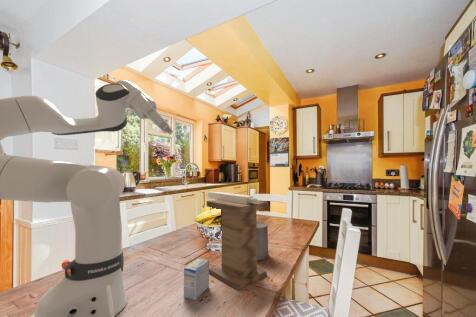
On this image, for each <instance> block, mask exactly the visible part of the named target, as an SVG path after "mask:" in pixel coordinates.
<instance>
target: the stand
mask: <svg viewBox="0 0 476 317" xmlns="http://www.w3.org/2000/svg"><path fill="white" fill-rule="evenodd" d="M206 207H208V208H211V207H212V208H216V209H221V231H222V235H221V263H220V264H218V265H215V266H214V265H213V266H212V267H209V275H211V276H213V277H214V278H216V279H219V280H220V281H221V282H224V283H225V284H227V285H229V286H230V287H232V288H234V289H235V290H237V291H240V290H241V289H243V288H245V287H247V286H249V285H251V284H253V283H255V282H257V281H260V279H262V278H264V277H267V276H268V272H267V271H268V270H266V269H263V268H261V267H258V260H257V222H258V221H257V211H259V210H263V209H269V201H264V200H257V202H255V203H250V204H242V203H236V202H229V201H223V200H217V199H213V200H212V199H211V200H207V201H206Z"/></svg>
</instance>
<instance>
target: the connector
mask: <svg viewBox="0 0 476 317" xmlns="http://www.w3.org/2000/svg"><path fill="white" fill-rule="evenodd" d="M206 193H207V195H206V196H207V199H211V200H212V199H213V200H223V201H229V202H236V203H242V204H250V203H255V202H257V201H258V198H255V197H254V196H253V195H247V194H239V193H238V194H237V193H231V192H222V191H213V190H212V191H207V192H206Z"/></svg>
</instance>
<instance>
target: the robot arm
mask: <svg viewBox="0 0 476 317" xmlns="http://www.w3.org/2000/svg"><path fill="white" fill-rule="evenodd" d="M94 94H95V100H96V101H95V102H96V106H97V113H98V114H97V116H95V117H88V118H70V117H68V116H65V115H64V114H63V113H61V111H60V110H59V109H58V107H56V106H55V105H54V104H53V103H52V102H50V101H49V100H47V99H46V98H44V97H41V96H38V95H21V96H15V97H4V98H0V141H2V140H4V139H5V138H8V137H15V136H23V135H28V134H32V133H40V132H41V133H44V132H45V133H51V134H52V135H54V136H55V135H56V136H73V135H83V134H91V133H99V132H113V133H114V132H118V131H122V130H123V129H124V128H125V127H126V126H127V125H128V119H127V114H126V110H127V109H129V110H130V111H131V112H132V113H133V114H135V116H137V117H138V118H139V119H141V120H147V119H149V120H150V121H151V122H152V123H153V124H154V125H155V126H156V127H157V128H158V129H159V130H161V132H163V133H164V134H168V135H169V136H170V135H172V134H173V133H174V131H173V130H172V127H171V126H170V124H169V123H167V121H166V120H165V119H164V118H163V116H162V115H161V114H160V113H159V112H158V111H157V103H156V102H155V100H153V99H152V98H151V97H150V96H149V95H148V94H146V93H145V92H143V90H142V89H141V88H140V87H138V86H137V84H134V83H133V82H131V81H128V80H126V79H120V80H117V81H116V82H115V83H108V84H105V85H103V86H100V87H99V88H98V89H97V90H95V93H94ZM2 145H3V144H1V142H0V200H3V201H5V200H6V201H16V202H17V201H18V202H19V201H20V202H31V203H32V202H35V203H70V208H71V215H72V220H73V223H74V224H73V225H74V234H75V235H74V236H75V237H74V241H75V242H74V245H75V246H74V259H73V260H72V261H70V260H69V259H65V260H64V261H62V262H61V268H62V270H63V271H64V277H63V278H61V279H60V281H58V282H57V283H56V284H55V285H54V286H52V287H51V288H50V289H48V290H47V291H46V292H45V293H44V294H43V295H41V297H40V298H39V301H38V303H37V305H36V308H35V311H34V314H32V315H30V316H29V317H116V316H117V314H119V313H120V312H121V311H122V310H123V309H124V308H125V307H126V305H127V304H128V297H127V294H126V289H125V286H124V285H125V284H124V278H123V271H124V265H125V264H124V263H125V257H124V251H123V250H122V249H123V248H122V245H123V240H122V239H123V238H122V237H123V224H122V215H121V206H120V203H121V201H120V196H121V195H122V194H123V192H124V191H125V190H124V189H125V184H126V182H125V179H124V176H123V174H122V173H121V172H120V171H118V169H115V168H113V167H110V166H103V165H95V164H86V163H79V162H78V163H77V162H70V161H68V162H67V161H60V160H52V159H51V160H50V159H45V158H44V159H43V158H36V157H35V158H34V157H26V156H19V155H18V156H17V155H9V154H6V153H5V151H4V147H3V146H2Z"/></svg>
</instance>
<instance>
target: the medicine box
mask: <svg viewBox="0 0 476 317" xmlns="http://www.w3.org/2000/svg"><path fill="white" fill-rule="evenodd" d="M209 268H210V260H207V259H203V258H197V259H195V260H193V261H192V262H191V263H190V264H188V265H187V266H185V267H184V269H183V297H184V298H186V299H188V300H191V301H192V300H193V301H197V300H198V299H199V298H200V297H201V295H202V294H203V293H204V292H205V291H206V290H207V289H208V288H209V287H210V273H209Z"/></svg>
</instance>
